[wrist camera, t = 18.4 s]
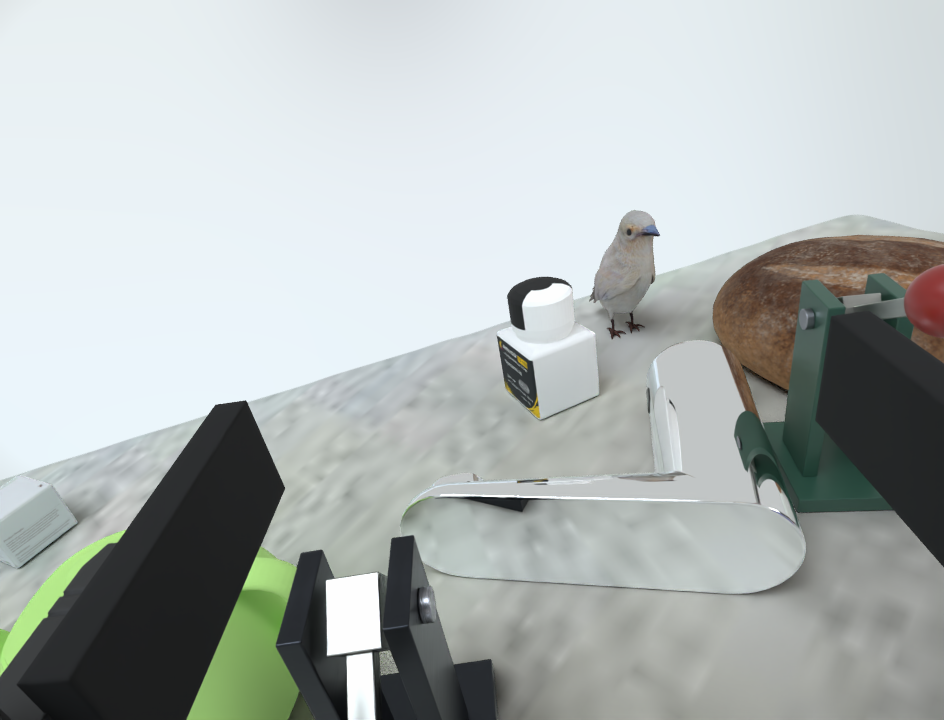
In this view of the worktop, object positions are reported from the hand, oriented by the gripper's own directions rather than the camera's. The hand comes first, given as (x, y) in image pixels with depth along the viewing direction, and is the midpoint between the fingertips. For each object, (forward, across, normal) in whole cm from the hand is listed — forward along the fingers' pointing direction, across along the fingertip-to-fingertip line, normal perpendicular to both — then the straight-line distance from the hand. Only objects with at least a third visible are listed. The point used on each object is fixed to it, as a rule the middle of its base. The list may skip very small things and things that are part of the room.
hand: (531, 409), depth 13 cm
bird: (+49, +12, -25) cm, 56 cm away
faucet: (+24, +4, -25) cm, 35 cm away
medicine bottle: (+38, +2, -25) cm, 46 cm away
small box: (+26, -47, -25) cm, 59 cm away
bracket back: (+23, +21, -25) cm, 40 cm away
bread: (+39, +33, -25) cm, 57 cm away
